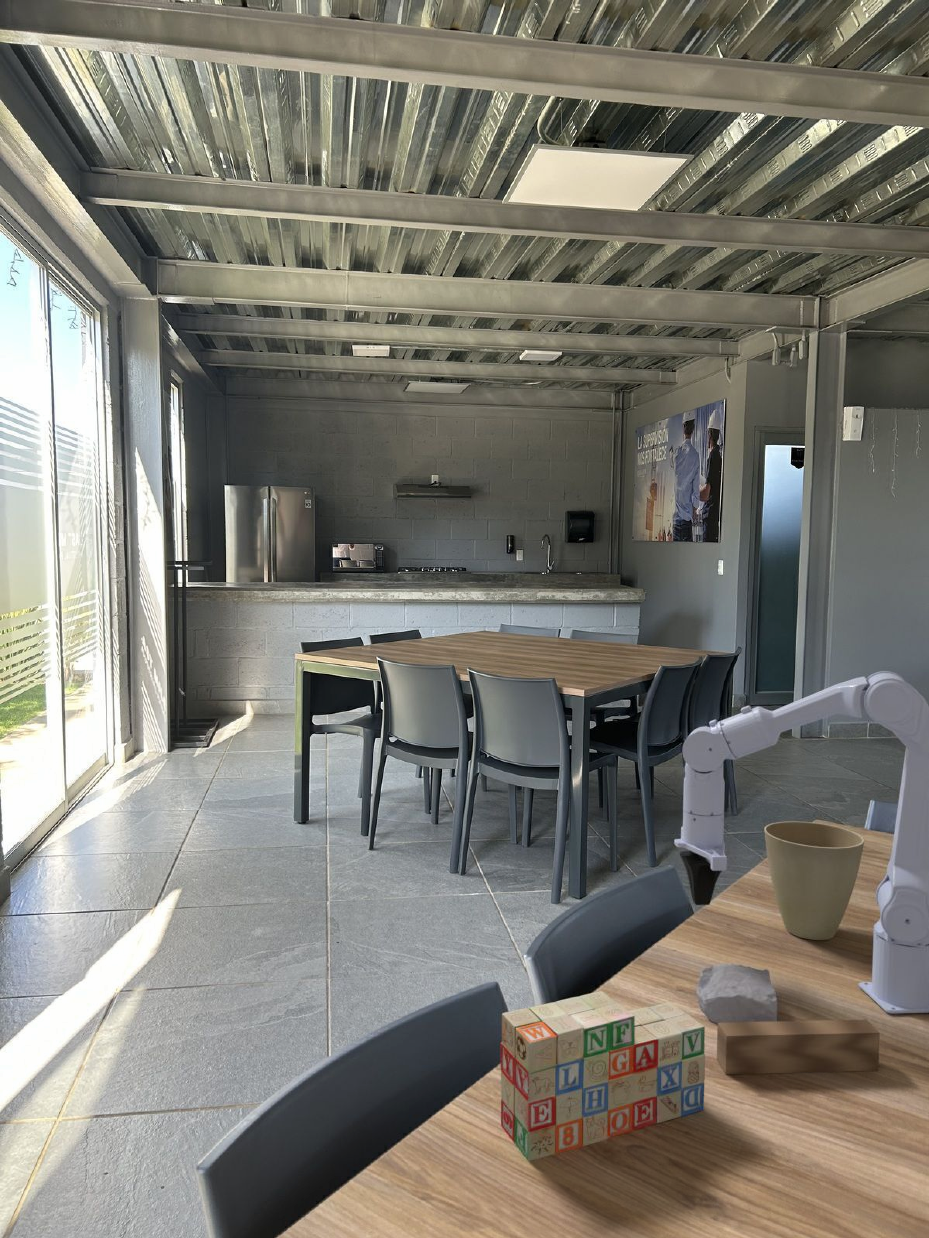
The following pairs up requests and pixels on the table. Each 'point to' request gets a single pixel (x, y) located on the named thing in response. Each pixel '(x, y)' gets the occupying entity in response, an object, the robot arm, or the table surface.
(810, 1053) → the board
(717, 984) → the stone block
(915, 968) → the robot arm
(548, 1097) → the stack of blocks
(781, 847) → the plant pot
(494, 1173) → the table surface
